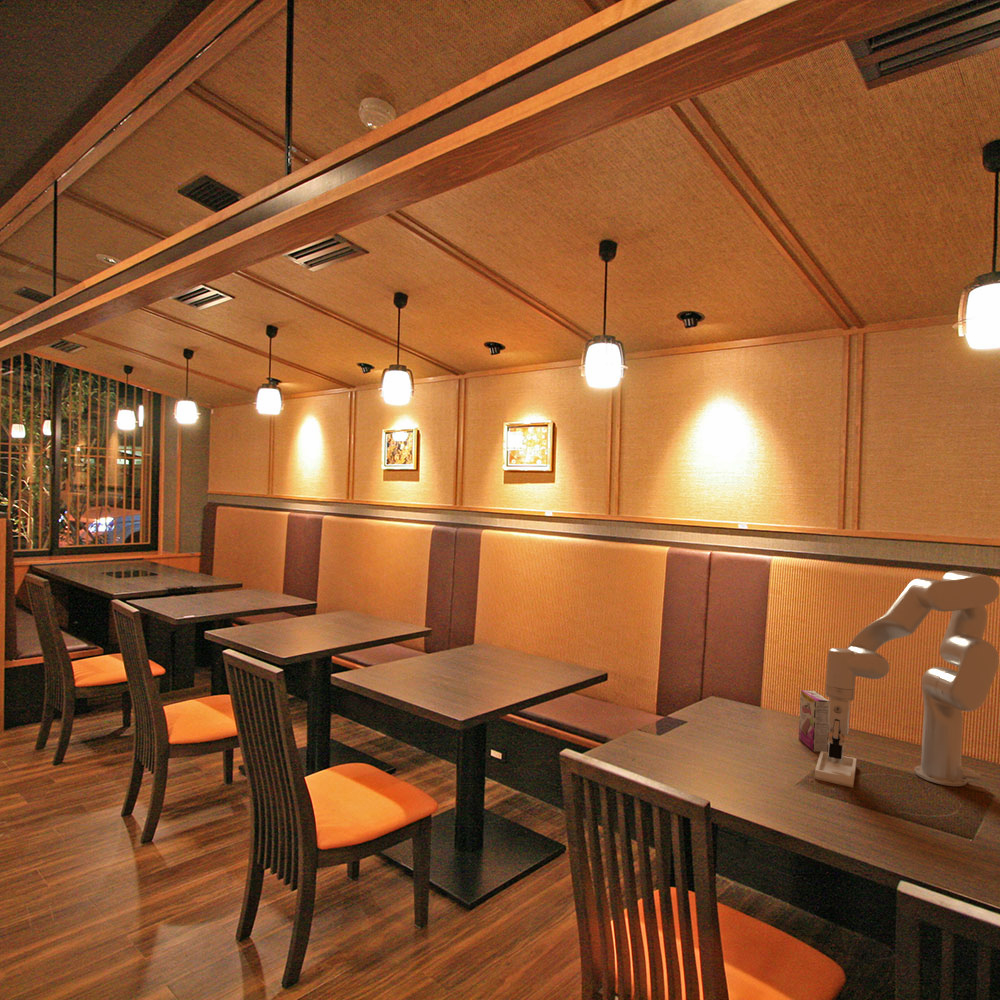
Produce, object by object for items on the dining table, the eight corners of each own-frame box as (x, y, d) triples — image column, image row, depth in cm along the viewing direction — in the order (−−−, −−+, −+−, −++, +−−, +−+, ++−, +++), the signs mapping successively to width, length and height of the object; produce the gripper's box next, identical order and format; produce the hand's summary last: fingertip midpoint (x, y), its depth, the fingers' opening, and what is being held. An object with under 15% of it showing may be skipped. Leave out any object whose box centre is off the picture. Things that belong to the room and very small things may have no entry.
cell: (843, 760, 196) (845, 732, 196) (842, 764, 192) (844, 736, 192) (827, 756, 198) (829, 729, 198) (826, 761, 194) (828, 733, 194)
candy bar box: (797, 739, 222) (799, 689, 222) (812, 740, 222) (815, 690, 222) (812, 752, 211) (815, 699, 211) (828, 753, 211) (831, 700, 211)
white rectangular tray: (856, 766, 200) (856, 758, 200) (853, 787, 185) (853, 778, 185) (820, 759, 205) (820, 751, 205) (814, 778, 190) (815, 769, 190)
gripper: (852, 701, 186) (848, 767, 186) (855, 688, 200) (851, 750, 201) (822, 696, 190) (818, 761, 190) (827, 683, 204) (823, 744, 204)
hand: (835, 754), depth 195 cm, fingers closed on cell, 4 cm apart
